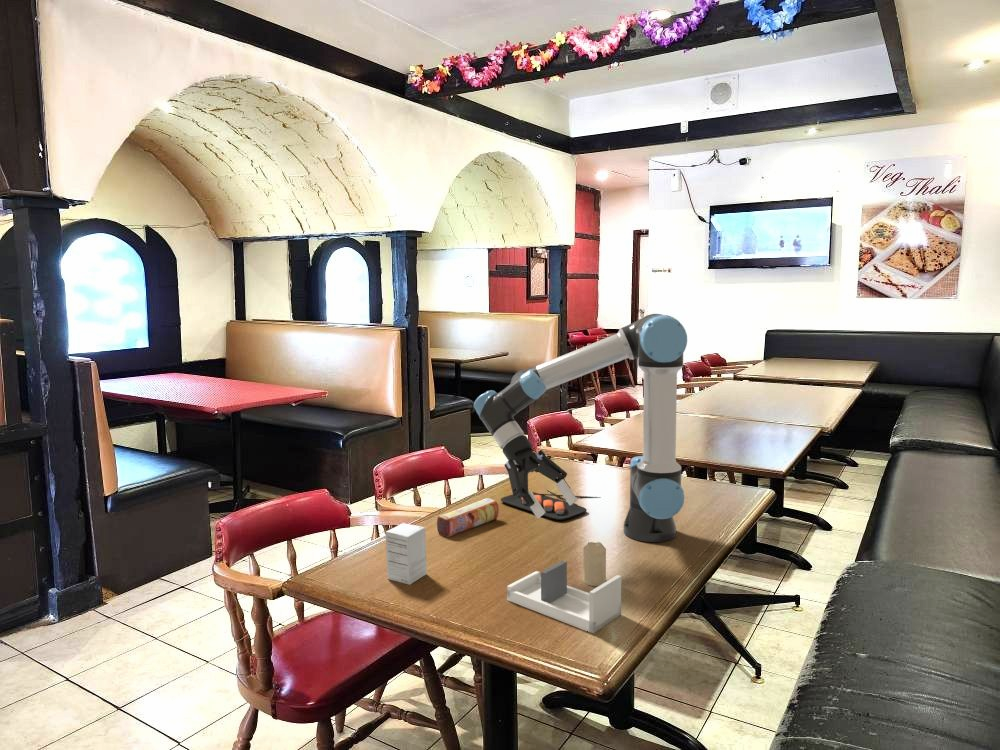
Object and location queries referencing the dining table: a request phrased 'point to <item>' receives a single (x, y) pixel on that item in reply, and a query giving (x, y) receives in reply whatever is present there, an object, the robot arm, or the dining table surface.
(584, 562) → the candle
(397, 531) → the supplement box
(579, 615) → the pusher lane
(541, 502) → the sushi plate
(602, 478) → the dining table surface
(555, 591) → the plate
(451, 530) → the snack package
